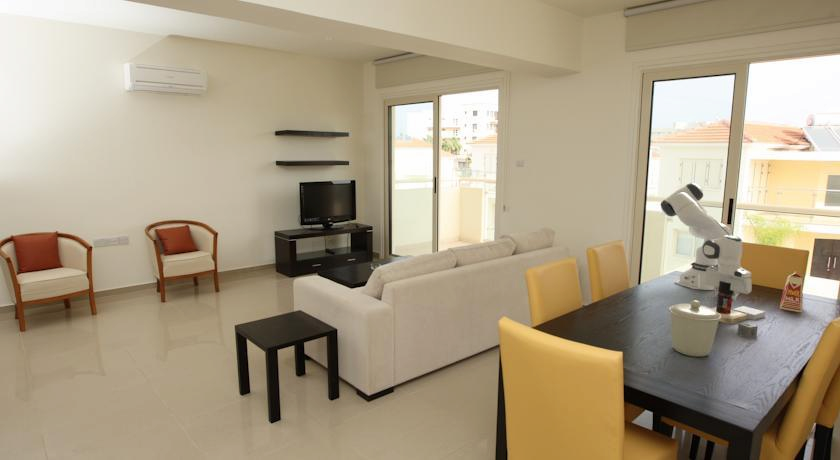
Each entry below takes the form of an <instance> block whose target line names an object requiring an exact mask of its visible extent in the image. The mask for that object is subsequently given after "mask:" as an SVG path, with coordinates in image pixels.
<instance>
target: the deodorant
mask: <svg viewBox="0 0 840 460" xmlns="http://www.w3.org/2000/svg"><path fill="white" fill-rule="evenodd" d="M730 286H731V283H727V282H722V281H720V282H719V288H718V296H717V302H716V307H717V308H716V311H717V312H718V313H722V314H730V313H731V310H732V305H733V303H732V301H733V300H731V296H734V291H731V290H730Z"/></svg>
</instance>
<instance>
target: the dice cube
mask: <svg viewBox="0 0 840 460" xmlns="http://www.w3.org/2000/svg"><path fill="white" fill-rule="evenodd" d="M737 325H738V326H737V335H738V336H741V337H743V338H746V339H753V338H757V334H758V328H759V327H758V325H755V324H753V323H750V322H747V321H746V322H738V323H737Z"/></svg>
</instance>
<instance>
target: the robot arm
mask: <svg viewBox="0 0 840 460" xmlns="http://www.w3.org/2000/svg"><path fill="white" fill-rule="evenodd" d="M703 197H704V192H703V189H702V187H701V186H700V185H698V184H696V183H695V182H690V183H688V184H686V185H685V186H683V187H681V188H679V189H678V190H676V191H674V192H673V193H672V194H670V195H669V196H668V197H666V198H665V199H663V200H662V201H661V202H660V209H661V211H662V213H664V215H666V216H668V217H670V218H671V217H672V218H673V217H675V216H677V217H678V219H679V220H680V222H682V224H683V225H685V226H686V227H688V232H689V233H690V235H691V236H693V237H695V238H697V239H701V240H703V243H702V244H701V246H700V247H698V248H697V249H696V252H695V261H693V262H691V263H690V266H691V268H689V269H686V270H684V271H683V272H681V274H680V275H679V279H676V280H674V283H675V284H678V285H680V286H683V287H686V288H689V289H693V290H703V291H704V290H705V291H714V292H715V293H714V294H715V295H714V296H715V297H718V290H719V282H720V281H722V282H727V283H731V286H730V290H731V291H733V296H731V300H732V301H734V302H735V301H736V300H737V297H739V295H740V294H745V295H747V294H750V293H751V292H752V288H753V286H752V285H753V284H752V283H753V282H752V279H751V277H752V272H751V271H749V270H747V269H745V268H743V267H742V266H741V258H742V256H743V240H742V238H740V237H739V236H737V235H734V234H733V235H732V230H731V228H730V227H729V226H728V225H726V224H723V223H721V222H718V221H717V220H716V219H715V218H713V217H712V216H711V215H710V214H708V212H707V209H705V207H704V206H703V205H702V204H701V203H700V200H702V198H703Z"/></svg>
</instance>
